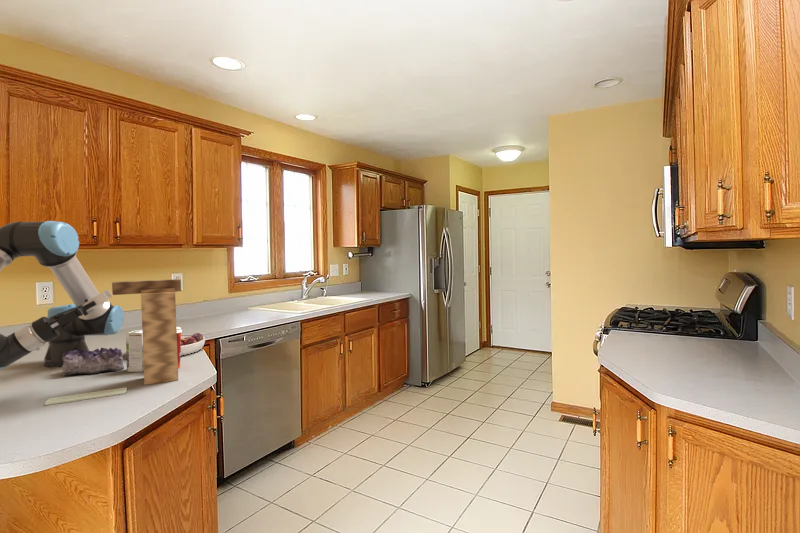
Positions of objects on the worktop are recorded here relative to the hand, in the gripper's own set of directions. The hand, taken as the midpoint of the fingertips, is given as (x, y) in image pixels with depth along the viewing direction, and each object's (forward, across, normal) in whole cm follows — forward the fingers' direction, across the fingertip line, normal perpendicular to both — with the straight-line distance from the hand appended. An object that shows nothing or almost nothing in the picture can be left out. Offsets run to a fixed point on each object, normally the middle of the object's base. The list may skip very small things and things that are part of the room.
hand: (108, 294), depth 145 cm
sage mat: (-20, +9, -23) cm, 32 cm away
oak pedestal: (-3, -1, -33) cm, 33 cm away
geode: (-22, -25, -22) cm, 41 cm away
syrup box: (-10, -18, -30) cm, 36 cm away
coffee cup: (0, -14, -35) cm, 38 cm away
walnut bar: (+10, -1, -6) cm, 11 cm away
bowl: (-1, -45, -35) cm, 57 cm away
